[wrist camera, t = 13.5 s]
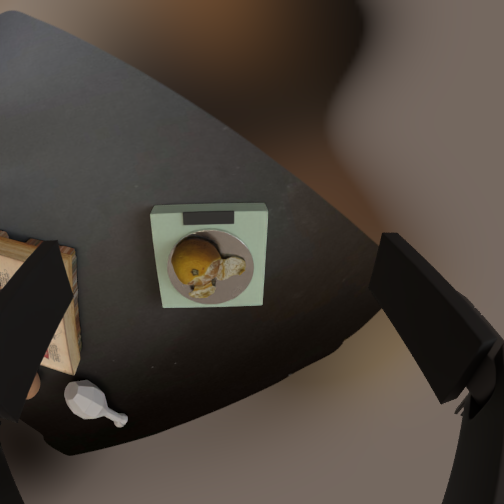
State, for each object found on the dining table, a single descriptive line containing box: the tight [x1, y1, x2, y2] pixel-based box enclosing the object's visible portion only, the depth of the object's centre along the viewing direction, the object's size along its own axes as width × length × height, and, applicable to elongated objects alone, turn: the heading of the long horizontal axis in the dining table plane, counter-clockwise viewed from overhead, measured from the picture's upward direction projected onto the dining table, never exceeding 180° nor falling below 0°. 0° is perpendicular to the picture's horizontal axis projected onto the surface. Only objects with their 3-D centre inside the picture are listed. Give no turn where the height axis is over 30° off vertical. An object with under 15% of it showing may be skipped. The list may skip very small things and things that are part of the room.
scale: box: [150, 203, 268, 308], centre depth 40 cm, size 14×14×3 cm
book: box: [0, 231, 82, 375], centre depth 38 cm, size 25×6×28 cm
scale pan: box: [167, 228, 254, 304], centre depth 39 cm, size 11×11×1 cm
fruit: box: [171, 238, 246, 298], centre depth 36 cm, size 8×8×4 cm
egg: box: [26, 373, 40, 399], centre depth 46 cm, size 6×6×8 cm
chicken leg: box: [64, 380, 128, 427], centre depth 52 cm, size 8×18×8 cm, turn 19°
